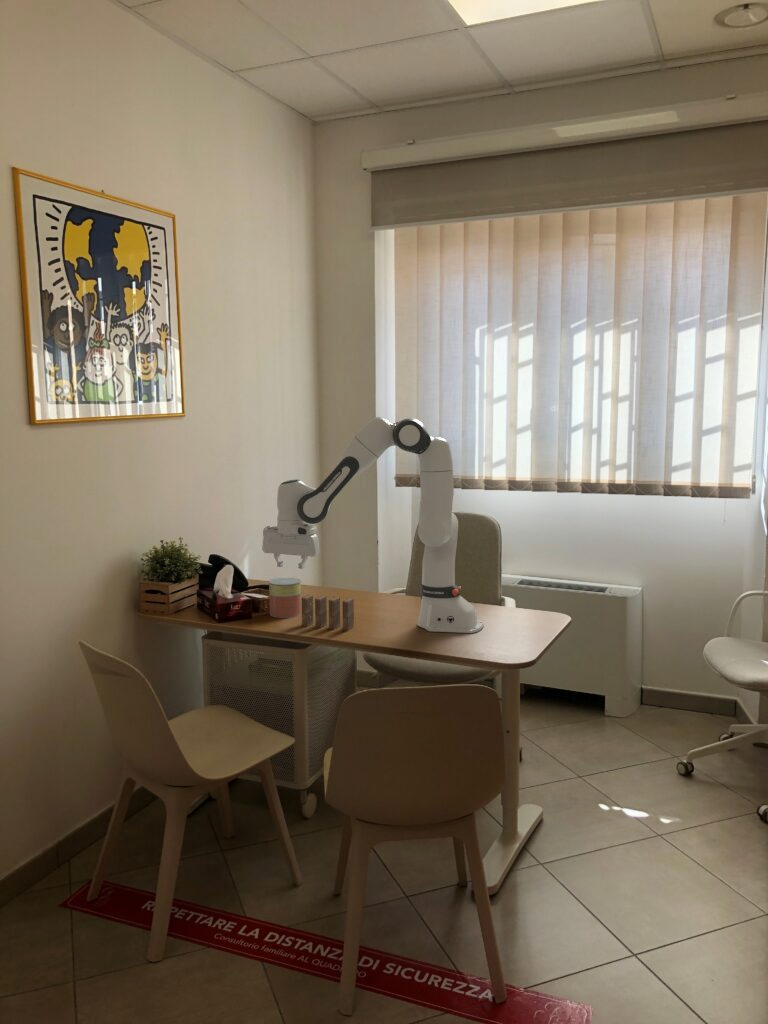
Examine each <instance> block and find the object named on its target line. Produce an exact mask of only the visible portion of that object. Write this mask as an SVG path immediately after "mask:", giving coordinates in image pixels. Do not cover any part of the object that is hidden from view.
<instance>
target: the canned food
mask: <svg viewBox="0 0 768 1024" xmlns="http://www.w3.org/2000/svg"><path fill="white" fill-rule="evenodd" d="M301 582H302V581H301V579H299V578H294V577H278V578H274V579H270V580H269V581H268V583H269V584H268V585H269V615H270V617H274V618H280V619H282V618H283V619H287V618H295V617H298V616H300V615H301V616H302V595H301V593H302V591H301V589H302V588H301Z"/></svg>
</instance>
